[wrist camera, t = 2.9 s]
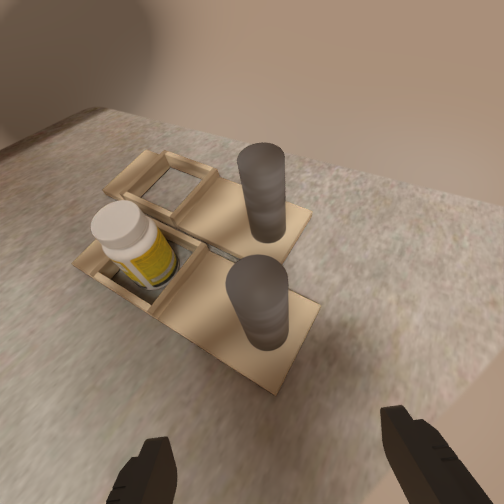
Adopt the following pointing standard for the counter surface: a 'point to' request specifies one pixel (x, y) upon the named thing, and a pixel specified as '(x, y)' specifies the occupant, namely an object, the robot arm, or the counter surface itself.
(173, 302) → the wooden rack with post
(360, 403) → the counter surface
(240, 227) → the empty strip
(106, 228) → the supplement bottle
